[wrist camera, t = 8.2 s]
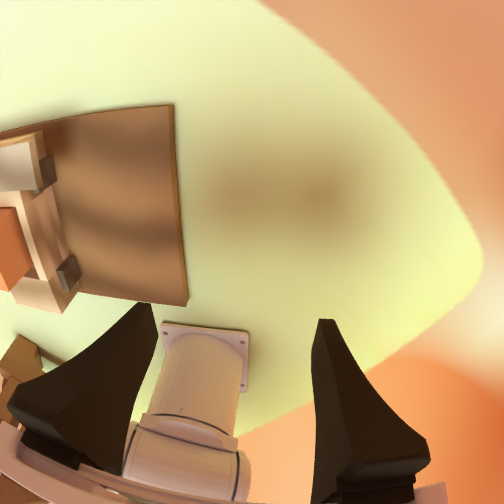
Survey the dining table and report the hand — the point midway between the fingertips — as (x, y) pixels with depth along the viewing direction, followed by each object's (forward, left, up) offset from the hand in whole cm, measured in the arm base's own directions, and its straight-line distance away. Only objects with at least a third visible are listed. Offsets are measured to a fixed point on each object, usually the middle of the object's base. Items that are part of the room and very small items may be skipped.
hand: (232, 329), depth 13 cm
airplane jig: (+1, +15, -9) cm, 18 cm away
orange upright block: (+1, +18, -7) cm, 19 cm away
